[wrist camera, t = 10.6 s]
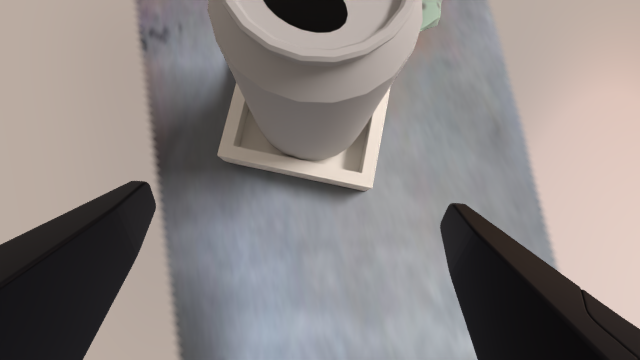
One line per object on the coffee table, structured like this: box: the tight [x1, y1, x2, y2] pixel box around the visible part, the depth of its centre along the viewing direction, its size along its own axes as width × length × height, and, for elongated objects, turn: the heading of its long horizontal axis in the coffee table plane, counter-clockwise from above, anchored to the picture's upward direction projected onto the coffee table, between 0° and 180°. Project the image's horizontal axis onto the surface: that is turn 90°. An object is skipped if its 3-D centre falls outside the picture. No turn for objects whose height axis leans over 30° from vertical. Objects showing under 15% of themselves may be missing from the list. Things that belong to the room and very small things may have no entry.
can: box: [208, 0, 423, 161], centre depth 14 cm, size 8×8×12 cm
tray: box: [217, 82, 391, 191], centre depth 20 cm, size 10×10×2 cm
